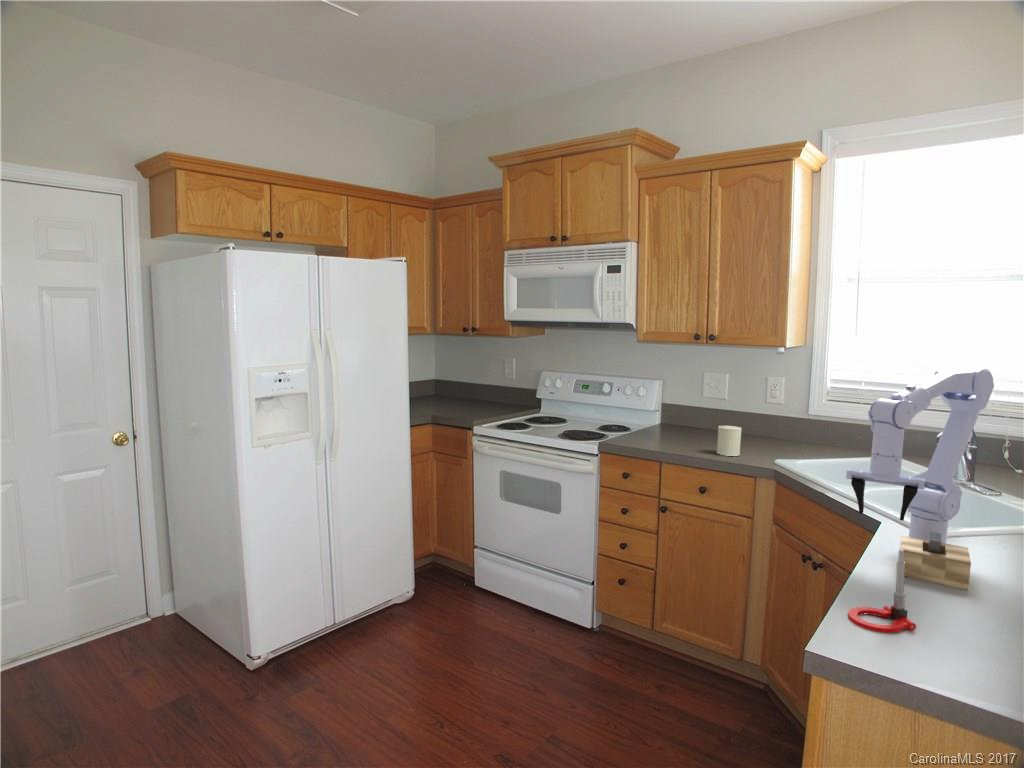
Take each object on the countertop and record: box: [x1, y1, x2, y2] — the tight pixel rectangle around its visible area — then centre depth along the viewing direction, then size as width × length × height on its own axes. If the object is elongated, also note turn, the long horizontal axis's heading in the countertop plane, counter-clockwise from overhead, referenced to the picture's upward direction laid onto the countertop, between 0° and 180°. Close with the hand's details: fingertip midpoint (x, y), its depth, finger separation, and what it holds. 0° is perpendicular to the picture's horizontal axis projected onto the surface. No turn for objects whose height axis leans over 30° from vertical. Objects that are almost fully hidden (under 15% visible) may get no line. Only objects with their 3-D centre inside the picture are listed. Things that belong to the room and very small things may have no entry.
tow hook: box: [847, 548, 917, 634], centre depth 108 cm, size 8×13×9 cm
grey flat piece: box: [928, 532, 941, 554], centre depth 132 cm, size 7×2×7 cm, turn 147°
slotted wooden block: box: [899, 535, 972, 590], centre depth 132 cm, size 11×12×6 cm
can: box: [716, 425, 742, 456], centre depth 257 cm, size 9×9×12 cm
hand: (881, 515), depth 137 cm, fingers open, 7 cm apart
